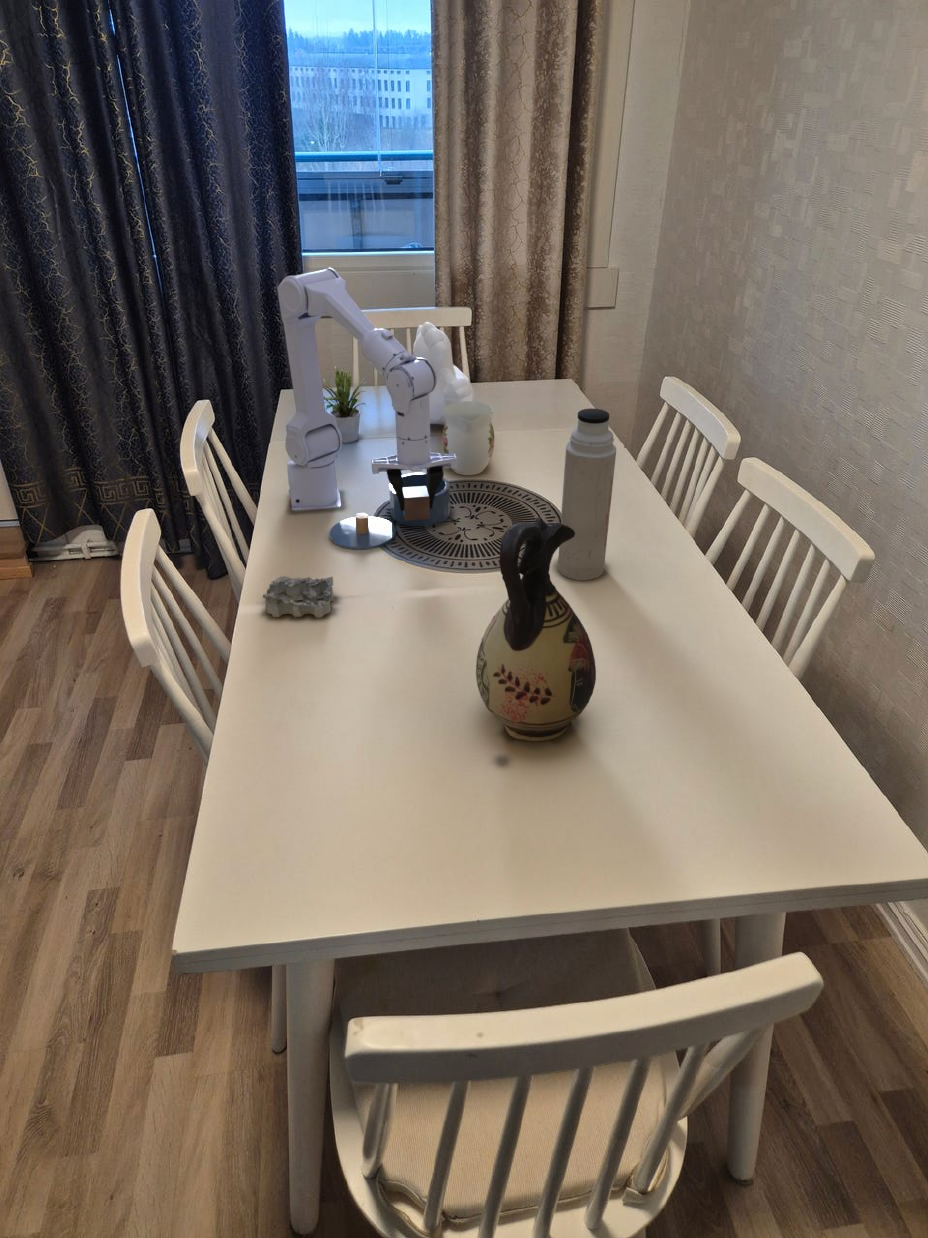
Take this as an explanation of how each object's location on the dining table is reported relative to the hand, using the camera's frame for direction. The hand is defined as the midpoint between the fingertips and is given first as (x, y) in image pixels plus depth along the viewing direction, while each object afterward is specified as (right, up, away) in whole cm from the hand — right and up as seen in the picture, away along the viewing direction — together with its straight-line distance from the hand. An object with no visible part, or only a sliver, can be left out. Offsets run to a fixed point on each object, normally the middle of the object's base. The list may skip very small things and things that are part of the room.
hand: (415, 507), depth 149 cm
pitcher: (+10, +13, +33) cm, 37 cm away
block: (0, -1, +1) cm, 1 cm away
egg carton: (-18, -18, -13) cm, 28 cm away
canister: (0, 0, +14) cm, 14 cm away
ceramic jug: (+17, -34, -36) cm, 53 cm away
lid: (-10, -4, +7) cm, 13 cm away
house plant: (-20, +23, +48) cm, 56 cm away
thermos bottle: (+29, -11, -3) cm, 31 cm away
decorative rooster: (+4, +26, +53) cm, 59 cm away
